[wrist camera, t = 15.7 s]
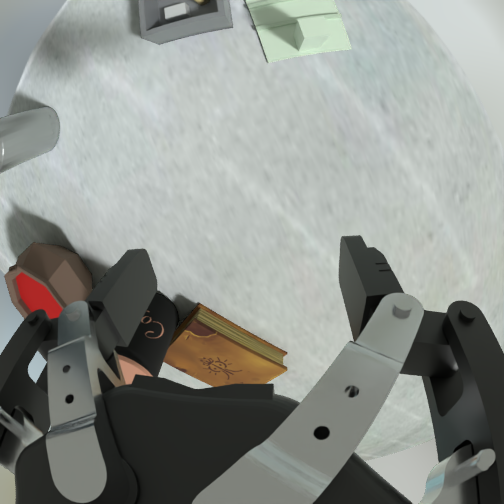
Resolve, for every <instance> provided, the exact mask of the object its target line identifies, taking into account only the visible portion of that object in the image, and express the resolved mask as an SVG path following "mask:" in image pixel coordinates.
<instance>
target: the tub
mask: <svg viewBox="0 0 504 504" xmlns="http://www.w3.org/2000/svg"><path fill="white" fill-rule="evenodd" d="M138 3H139V18H140V30H141V38H143V39H146V40H148V41H151V42H154V43H156V44H159V45H160V44H163V43H166V42H170V41H173V40H177V39H181V38H185V37H189V36H193V35H197V34H201V33H206V32H211V31H216V30H222V29H228V28H233V24H232V17H231V10H230V3H229V0H138Z"/></svg>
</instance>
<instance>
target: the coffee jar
mask: <svg viewBox="0 0 504 504" xmlns="http://www.w3.org/2000/svg"><path fill="white" fill-rule="evenodd" d="M178 321H179V318H178V312H177V310H176V308H175V306H174V304H173V303H172V302H171V301H170V300H169V299H167V298H166V297H165V296H163V295H160V294H158V293H155V295H154V297H153V299H152V301H151V303H150V304H149V306H148V308H147V310H146V312H145V314H144V316H143V318H142V320H141V322H140V324H139V326H138V327H137V329H136V331H135V333H134V335H133V337H132V339H131V341H130V343H129V345H128V347H124V346H116V347H115V349H114V350H115V351H116V353H117V355H118V358H119V362H120V365H121V369H122V372H123V376H124V379H125V382H126V384H132V381H133V379H134V376H135V374H139V375H145V376H152V377H158V374H159V372H160V369H161V366H162V363H163V361H164V358H165V355H166V353H167V350H168V347H169V345H170V342H171V339H172V337H173V334H174V332H175V329H176V326H177V324H178Z"/></svg>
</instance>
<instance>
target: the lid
mask: <svg viewBox="0 0 504 504" xmlns="http://www.w3.org/2000/svg"><path fill="white" fill-rule="evenodd" d="M245 1H246V3H247V6H248V8H249V11H250V13H251V16H252V19H253V21H254V24H255V27H256V29H257V32H258V35H259V38H260V40H261V43H262V46H263V49H264V52H265V55H266V58H267V61H268V63H271V62H275V61H280V60H284V59H289V58H294V57H300V56H305V55H311V54H318V53H325V52H333V51H341V50H351V49H352V48H351V45H350V42H349V39H348V36H347V33H346V30H345V27H344V25H343V22H342V19H341V17H342V16H341V13H340V14H339V12H338V9H337V7H336V4H335V2H334V0H245Z"/></svg>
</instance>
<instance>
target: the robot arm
mask: <svg viewBox="0 0 504 504" xmlns="http://www.w3.org/2000/svg"><path fill="white" fill-rule="evenodd" d="M59 132H60V125H59V119H58V116H57V114H56V113H55V111H54V110H53V109H52V108H50V107H42V108H38V109H33V110H28V111H24V112H20V113H16V114H12V115H9V116H5V117H2V118H0V174H1V173H2V172H4V171H6V170H8V169H10V168H13V167H15V166H17V165H19V164H21V163H23V162H25V161H28V160H30V159H32V158H35V157H37V156H39V155H42V154H44V153H47V152H49V151H51V150H52V149H53V148H54V147H55V145H56V143H57V141H58V138H59ZM339 283H340V288H341V292H342V295H343V299H344V303H345V307H346V311H347V315H348V318H349V323H350V327H351V331H352V335H353V339H354V342H353V341H350V342H348V343H347V344H346V346H345V347H344V348H343V350H342V351H341V352H340V354H339V355H338V356H337V358H336V359H335V360H334V362H333V363H332V364H331V366H330V367H329V368H328V370H327V371H326V372H325V374H324V375H323V376H322V377H321V379H320V380H319V381H318V382H317V384H316V385H315V386H314V387H313V389H312V390H311V391H310V392H309V393H308V395H307V396H306V397H305V398H304V399H303V401H302V402H301V403H299V402H298V401H295V400H293V399H291V398H288V397H285V396H281V395H277V394H274V385H273V384H237V383H235V384H230V385H224V386H218V387H211V388H204V389H193V388H190V387H187V386H184V385H182V384H179V383H176V382H173V381H171V380H168V379H166V378H160V377H152V376H145V375H139V374H135V376H134V379H133V381H132V384H126V382H125V379H124V376H123V372H122V369H121V365H120V362H119V358H118V355H117V353H116V351H115V350H114V349H115V347H116V346H124V347H128V345H129V343H130V341H131V339H132V337H133V335H134V333H135V331H136V329H137V327H138V326H139V324H140V322H141V320H142V318H143V316H144V314H145V312H146V310H147V308H148V306H149V304H150V303H151V301H152V299H153V297H154V295H155V293H156V291H157V279H156V276H155V273H154V270H153V267H152V264H151V261H150V258H149V255H148V253H147V251H146V250H145V249H132V250H127V251H126V253H125V254H124V255H123V256H122V257H121V259H120V260H119V261H118V262H117V263H116V264H115V265H114V266H112V267H111V268H110V269H109V270H108V272H107V273H106V274H105V277H103V278H102V279H101V280H100V283H98V284H97V285H96V287H95V288H94V289H93V291H92V292H91V293H90V295H89V296H88V297H87V299H86V300H85V301H76V302H73V303H71V304H69V305H68V306H66V307H65V308H64V309H63V310H62V311H61V313H60V315H59V317H57V318H52V319H50V318H49V316H48V315H47V313H46V311H45V310H43V309H38V310H35V311H33V312H32V313H30V314H29V315H28V316H27V317H26V318H25V319H24V321H23V322H22V324H21V325H20V327H19V328H18V329H17V331H16V332H15V333H14V335H13V336H12V338H11V340H10V341H9V342H8V344H7V345H6V347H5V349H4V350H3V352H2V353H1V355H0V465H1V466H3V467H4V468H6V469H8V470H9V471H11V472H12V473H13V474H14V475H15V486H16V504H412V502H411V501H409V500H408V499H407V498H406V497H404V496H403V495H402V494H401V493H400V492H399V491H397V490H396V489H395V488H394V487H393V486H391V485H390V484H389V483H388V482H387V481H386V480H384V479H383V478H382V477H381V476H380V475H379V474H378V473H377V472H375V471H374V470H373V469H372V468H371V467H370V466H369V465H368V464H367V463H366V462H364V461H363V460H362V459H361V458H360V457H359V456H358V455H357V454H356V453H355V452H354V450H355V449H356V448H357V446H358V445H359V443H360V442H361V440H362V439H363V437H364V435H365V434H366V432H367V431H368V429H369V428H370V426H371V424H372V423H373V421H374V419H375V418H376V416H377V414H378V413H379V411H380V409H381V407H382V406H383V404H384V402H385V400H386V398H387V396H388V395H389V393H390V391H391V389H392V387H393V385H394V383H395V381H396V379H397V377H398V375H399V373H400V374H408V375H417V376H422V379H423V383H424V387H425V391H426V395H427V399H428V404H429V408H430V413H431V418H432V423H433V428H434V434H435V439H436V446H437V452H438V460H439V463H438V464H437V465H436V466H435V467H434V468H433V469H432V470H431V472H430V474H429V476H428V478H427V482H426V490H425V494H424V496H423V499H422V500H421V501H420V503H419V504H504V353H503V351H502V349H501V347H500V345H499V343H498V341H497V339H496V337H495V335H494V333H493V331H492V329H491V327H490V325H489V324H488V322H487V320H486V318H485V316H484V315H483V313H482V312H481V310H480V309H479V308H478V307H477V306H475V305H474V304H472V303H470V302H467V301H455V302H453V303H452V304H451V305H450V306H449V308H448V310H447V312H446V313H441V312H433V311H426V310H424V309H423V306H422V304H421V303H420V302H419V301H418V300H417V299H416V298H415V297H413V296H411V295H409V294H405V293H404V292H403V290H402V288H401V286H400V284H399V282H398V280H397V278H396V276H395V275H394V273H393V271H392V270H391V267H390V265H389V264H388V262H387V260H386V258H385V257H384V255H383V254H382V253H381V252H380V251H378V250H377V249H376V248H374V247H371V248H367V246H366V244H365V242H364V241H363V239H362V237H361V236H360V235H359V236H342V237H341V242H340V260H339ZM37 350H38V351H39V352H40V354H41V355H42V356H43V358H44V359H45V360H46V361H47V363H46V365H45V367H44V369H43V371H42V373H41V375H40V377H39V378H38V380H37V382H36V383H35V382H34V381H33V380H32V379H31V378H30V377H29V374H28V365H29V363H30V361H31V360H32V358H33V357H34V355H35V353H36V352H37ZM50 425H51V430H50V431H49V432H48V430H49V427H50Z"/></svg>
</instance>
